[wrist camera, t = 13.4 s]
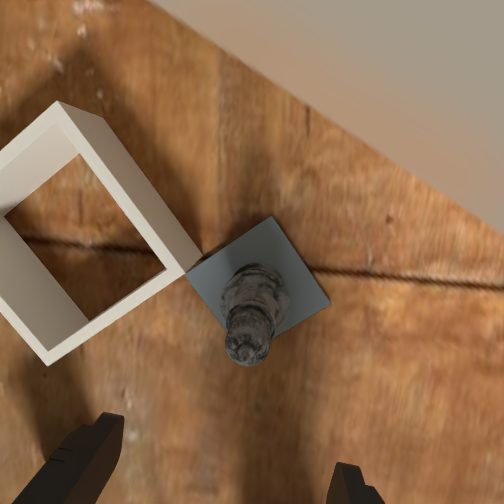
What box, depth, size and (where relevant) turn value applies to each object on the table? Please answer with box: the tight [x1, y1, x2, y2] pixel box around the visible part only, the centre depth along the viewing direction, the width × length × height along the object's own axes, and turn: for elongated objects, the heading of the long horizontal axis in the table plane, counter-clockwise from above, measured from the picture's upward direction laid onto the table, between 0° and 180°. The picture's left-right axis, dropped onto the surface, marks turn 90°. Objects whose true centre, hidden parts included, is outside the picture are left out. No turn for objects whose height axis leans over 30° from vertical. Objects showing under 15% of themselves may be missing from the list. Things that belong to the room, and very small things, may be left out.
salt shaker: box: [220, 263, 290, 366], centre depth 24 cm, size 6×6×12 cm
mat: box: [185, 215, 331, 339], centre depth 30 cm, size 10×10×1 cm
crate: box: [0, 101, 203, 367], centre depth 27 cm, size 15×15×6 cm
